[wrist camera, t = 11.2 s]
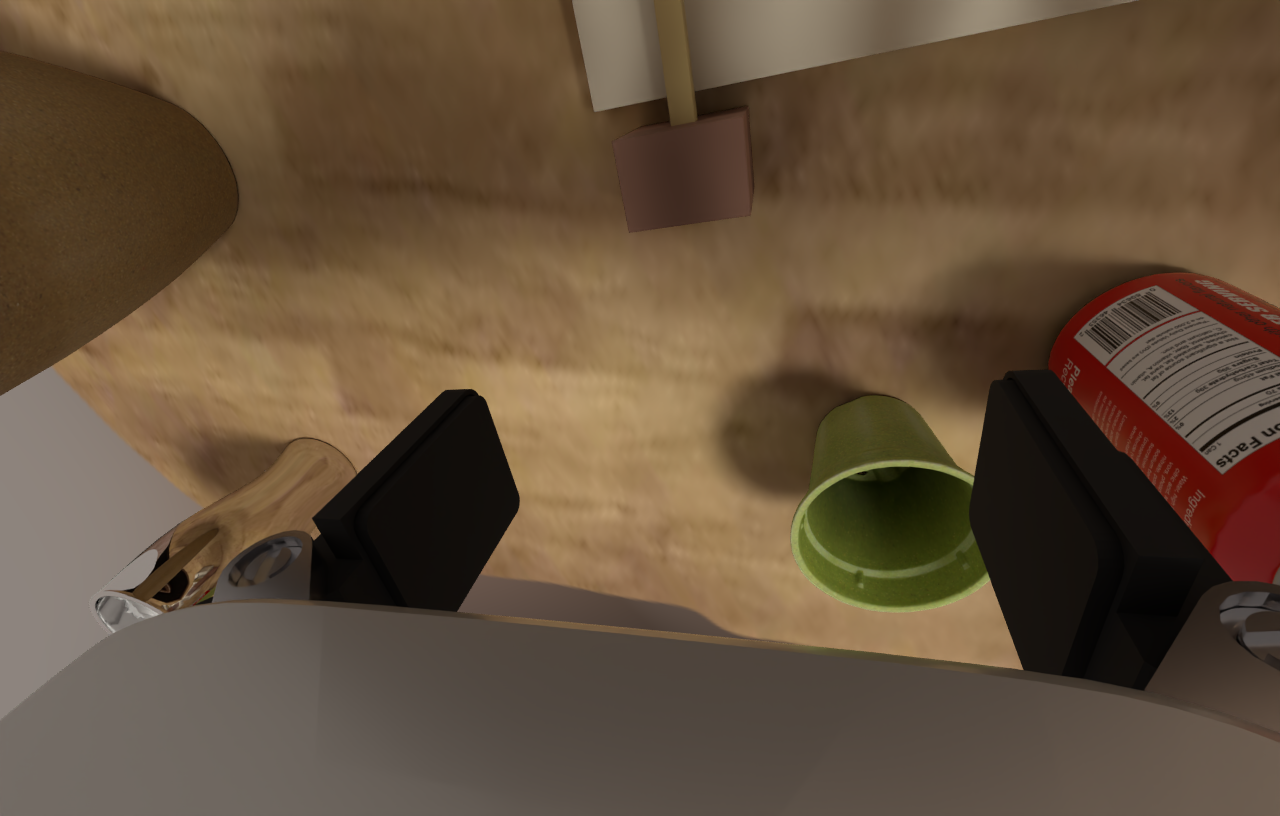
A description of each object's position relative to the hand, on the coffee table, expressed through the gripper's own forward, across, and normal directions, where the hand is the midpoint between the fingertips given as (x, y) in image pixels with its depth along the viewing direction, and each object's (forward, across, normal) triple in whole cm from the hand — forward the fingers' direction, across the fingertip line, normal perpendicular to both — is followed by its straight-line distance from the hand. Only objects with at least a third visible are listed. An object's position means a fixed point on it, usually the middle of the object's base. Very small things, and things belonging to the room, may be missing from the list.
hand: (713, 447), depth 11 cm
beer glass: (+19, +35, +16) cm, 43 cm away
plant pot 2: (+21, -5, +14) cm, 25 cm away
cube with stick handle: (+20, +3, -6) cm, 21 cm away
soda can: (+21, -17, +9) cm, 29 cm away
